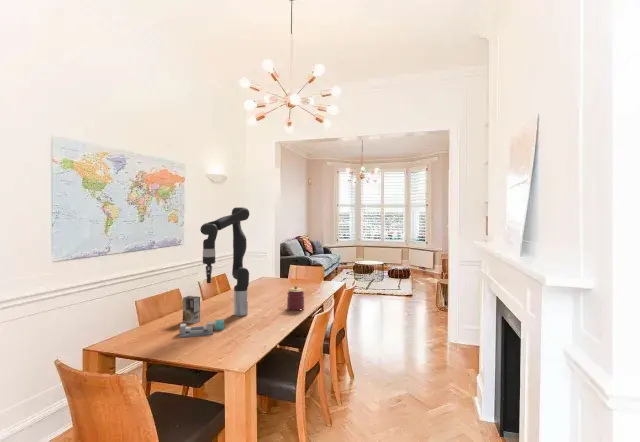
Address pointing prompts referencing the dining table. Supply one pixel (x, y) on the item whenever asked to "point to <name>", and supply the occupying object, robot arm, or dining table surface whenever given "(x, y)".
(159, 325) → the dining table surface
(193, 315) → the coffee box
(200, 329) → the shaft bench
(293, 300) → the canister
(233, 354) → the dining table surface
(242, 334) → the dining table surface
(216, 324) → the coupler
